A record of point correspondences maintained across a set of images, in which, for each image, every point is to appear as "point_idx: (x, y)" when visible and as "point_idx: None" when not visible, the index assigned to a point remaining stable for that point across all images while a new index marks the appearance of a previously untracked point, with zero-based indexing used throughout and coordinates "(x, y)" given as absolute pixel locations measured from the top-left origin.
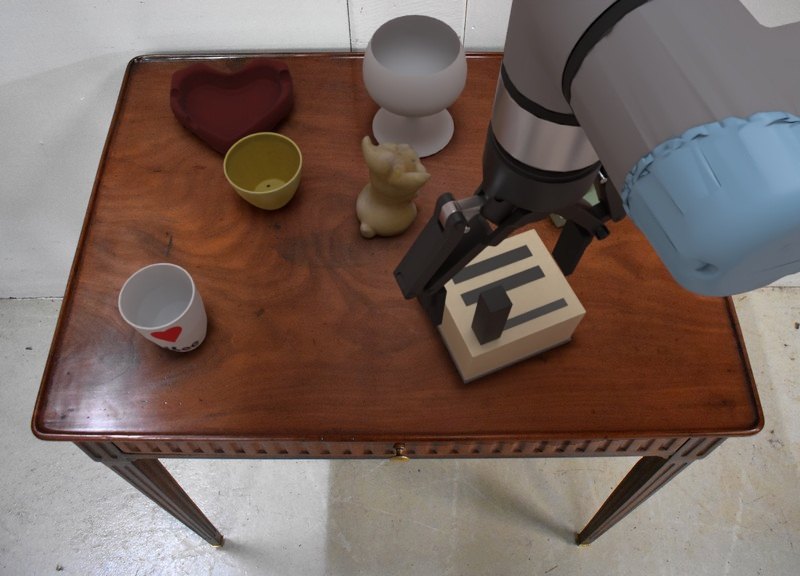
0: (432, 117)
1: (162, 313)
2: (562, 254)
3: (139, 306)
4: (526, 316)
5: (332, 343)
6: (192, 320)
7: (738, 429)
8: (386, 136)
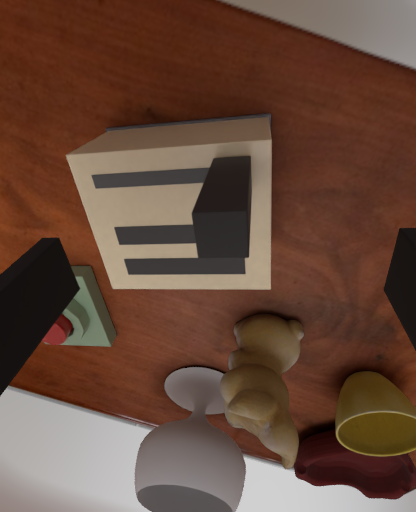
0: (182, 394)
1: None
2: (47, 293)
3: None
4: (159, 178)
5: (405, 225)
6: None
7: None
8: None
